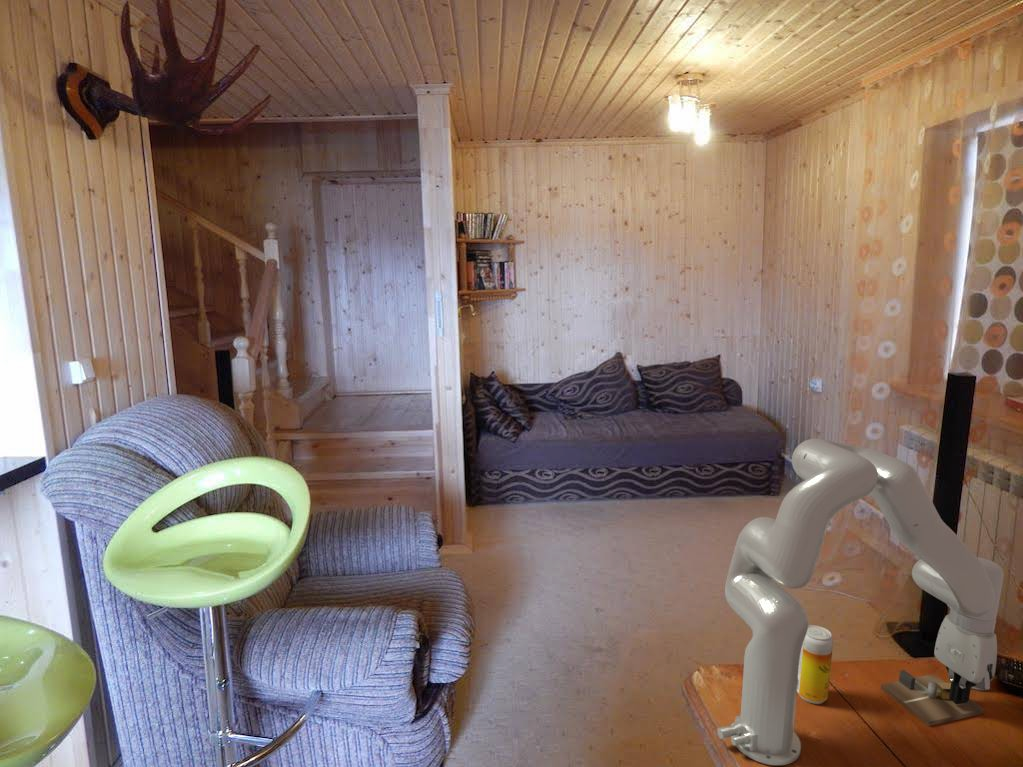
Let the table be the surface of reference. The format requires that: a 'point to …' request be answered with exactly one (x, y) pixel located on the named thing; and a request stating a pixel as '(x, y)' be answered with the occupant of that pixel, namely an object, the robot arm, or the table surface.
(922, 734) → the table surface
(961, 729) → the table surface
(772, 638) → the robot arm
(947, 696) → the latch bar
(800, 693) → the beer can
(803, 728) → the table surface
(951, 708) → the lock board
